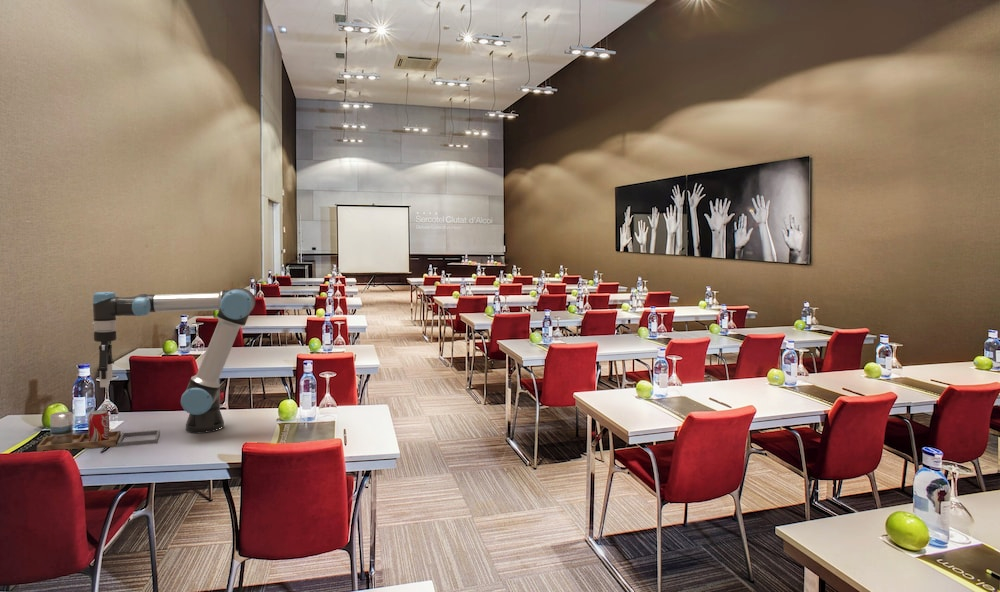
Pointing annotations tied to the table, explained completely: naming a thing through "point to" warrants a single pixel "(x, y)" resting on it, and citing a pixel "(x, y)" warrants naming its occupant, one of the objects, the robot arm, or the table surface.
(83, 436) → the caddy
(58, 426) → the translucent grey rounded cylinder
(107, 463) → the table surface
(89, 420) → the soda can
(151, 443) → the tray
